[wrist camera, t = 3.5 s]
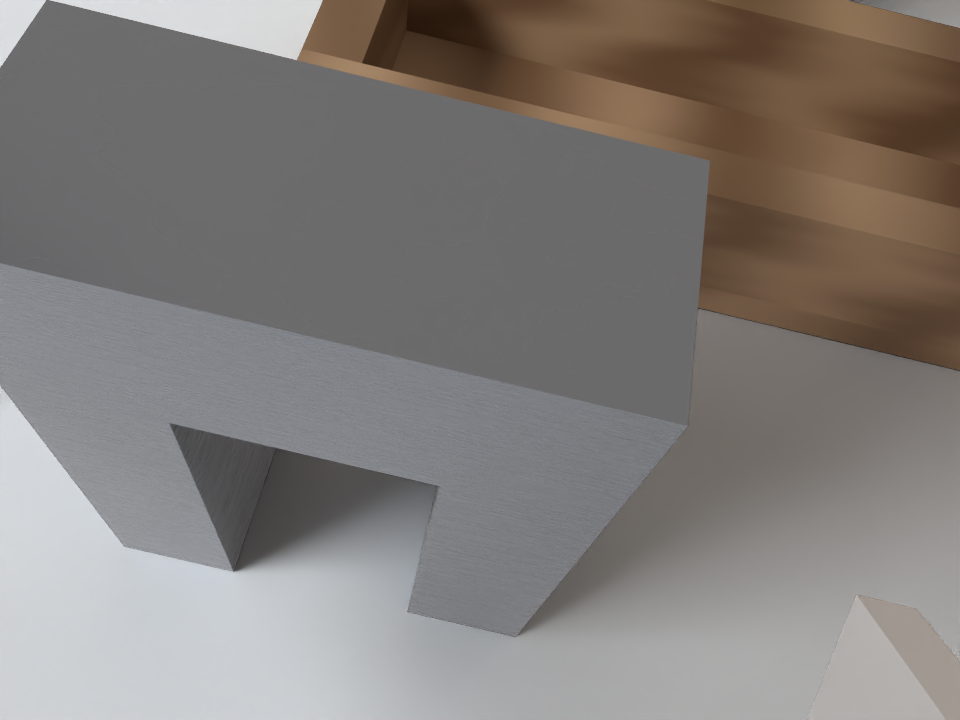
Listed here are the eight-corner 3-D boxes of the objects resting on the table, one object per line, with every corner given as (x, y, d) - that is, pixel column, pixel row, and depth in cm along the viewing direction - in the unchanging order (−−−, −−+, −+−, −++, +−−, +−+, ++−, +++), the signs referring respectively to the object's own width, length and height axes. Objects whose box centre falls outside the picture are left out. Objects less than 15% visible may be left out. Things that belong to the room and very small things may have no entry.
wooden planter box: (294, 211, 24) (283, 91, 21) (370, 14, 29) (374, -117, 25) (1047, 391, 25) (1177, 307, 21) (1013, 170, 29) (1116, 67, 25)
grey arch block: (123, 546, 19) (-114, 236, 9) (188, 391, 21) (46, 0, 11) (515, 636, 20) (688, 426, 10) (543, 474, 22) (710, 160, 12)
